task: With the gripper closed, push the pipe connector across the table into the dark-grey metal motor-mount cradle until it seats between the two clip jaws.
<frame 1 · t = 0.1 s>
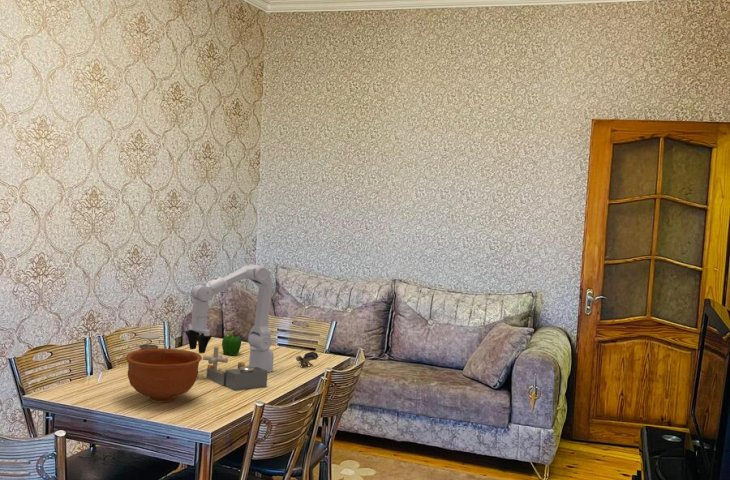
hand: (197, 351, 275), 10 cm above the table, tool pointing down, fingers open, 7 cm apart
french press: (149, 371, 279), on the table
bowl: (161, 399, 242), on the table
pipe connector: (214, 372, 286), on the table
bell pepper: (230, 354, 320), on the table
eagle figurine: (306, 367, 308), on the table
motor mount: (231, 379, 275), on the table
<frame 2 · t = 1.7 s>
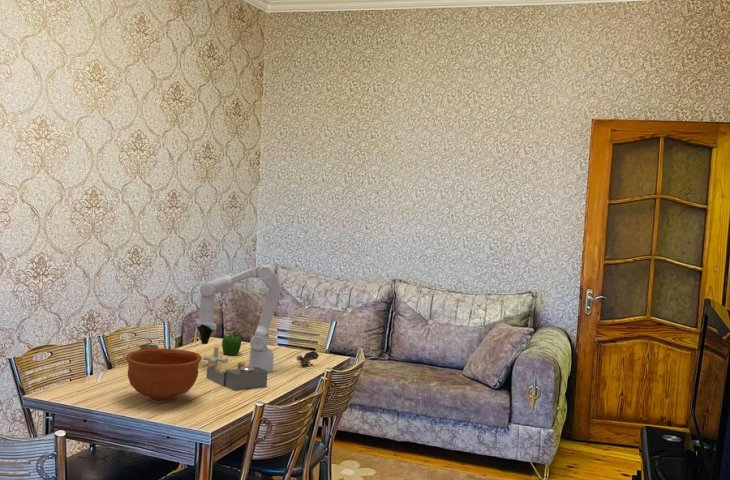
hand: (204, 343, 293), 9 cm above the table, tool pointing down, fingers closed
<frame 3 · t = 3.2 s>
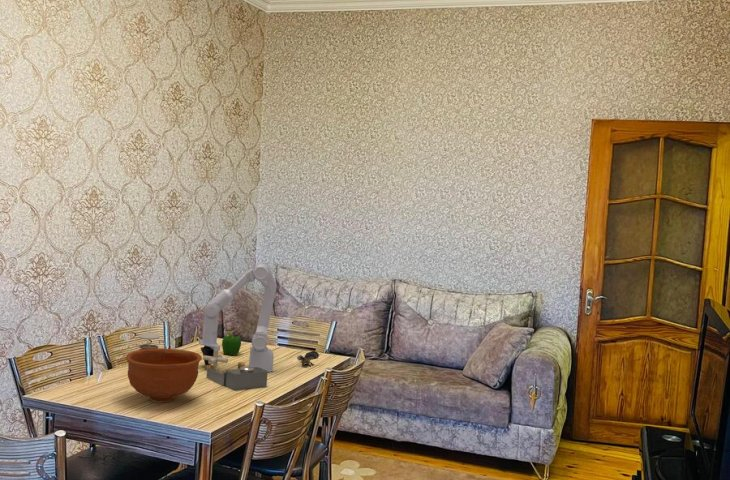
hand: (207, 364, 291), 1 cm above the table, tool pointing down, fingers closed
pipe connector: (214, 372, 286), on the table, touching gripper
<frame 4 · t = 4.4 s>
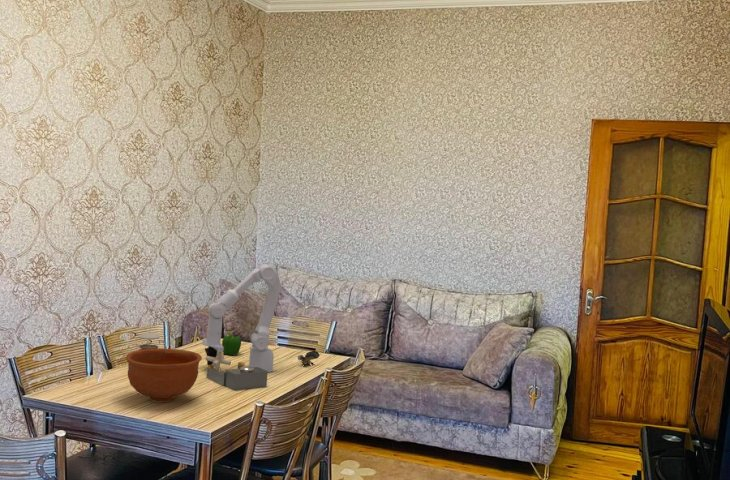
hand: (210, 365, 287), 2 cm above the table, tool pointing down, fingers closed, pressing on pipe connector
pipe connector: (216, 372, 285), on the table, touching gripper
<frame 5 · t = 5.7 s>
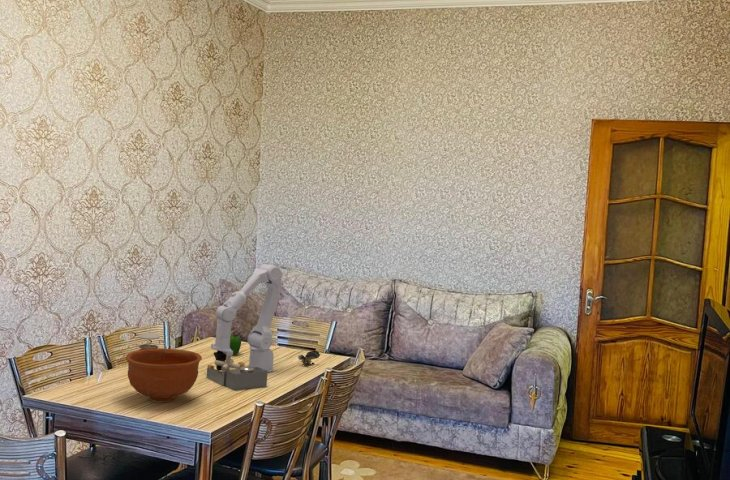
hand: (219, 370, 282), 2 cm above the table, tool pointing down, fingers closed, pressing on pipe connector
pipe connector: (225, 377, 279), on the table, touching gripper
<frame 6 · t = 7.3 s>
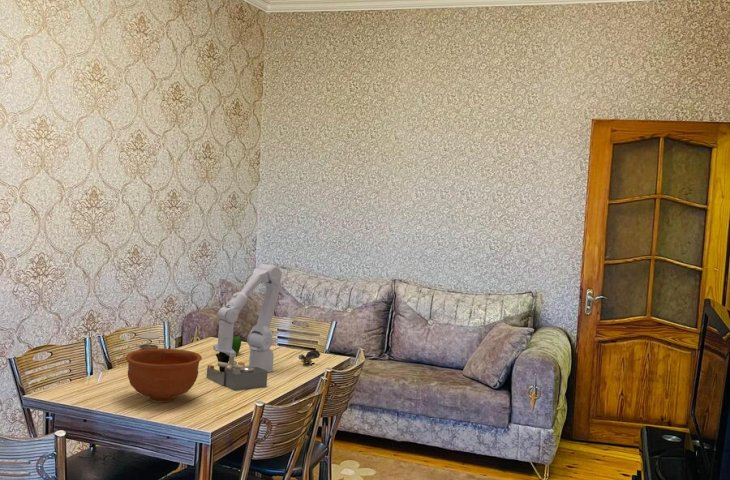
hand: (222, 371, 280), 2 cm above the table, tool pointing down, fingers closed, pressing on pipe connector
pipe connector: (229, 379, 277), on the table, touching gripper
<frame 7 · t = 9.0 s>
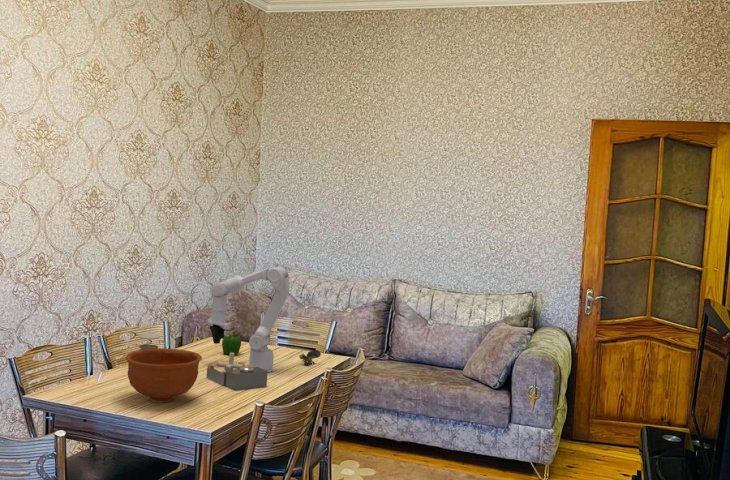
hand: (216, 343, 296), 9 cm above the table, tool pointing down, fingers closed
pipe connector: (229, 379, 277), on the table
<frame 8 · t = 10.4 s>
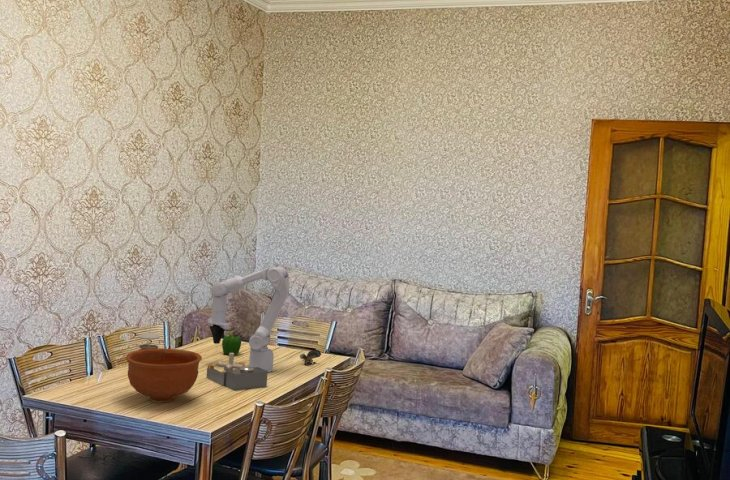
hand: (216, 343, 296), 9 cm above the table, tool pointing down, fingers closed
at the end: pipe connector 0.6 cm from the target spot on the motor mount, point 0.0 cm above the motor mount's base; pipe connector tilted 1° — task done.
